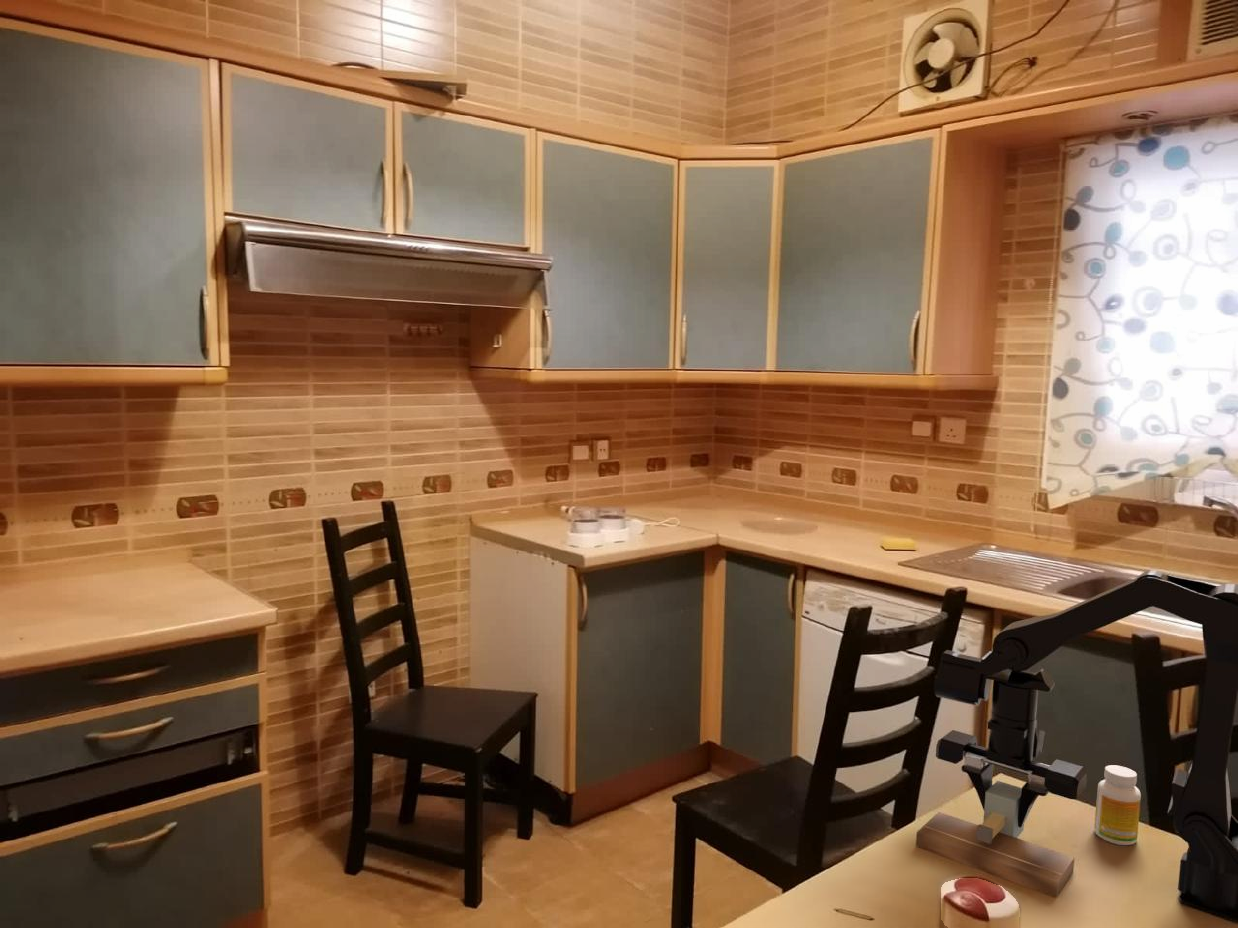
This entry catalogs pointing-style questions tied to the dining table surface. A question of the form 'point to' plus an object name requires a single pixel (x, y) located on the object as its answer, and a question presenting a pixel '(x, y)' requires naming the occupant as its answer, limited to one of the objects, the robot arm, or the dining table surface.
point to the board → (997, 854)
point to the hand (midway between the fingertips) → (1004, 820)
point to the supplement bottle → (1118, 806)
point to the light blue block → (1000, 812)
